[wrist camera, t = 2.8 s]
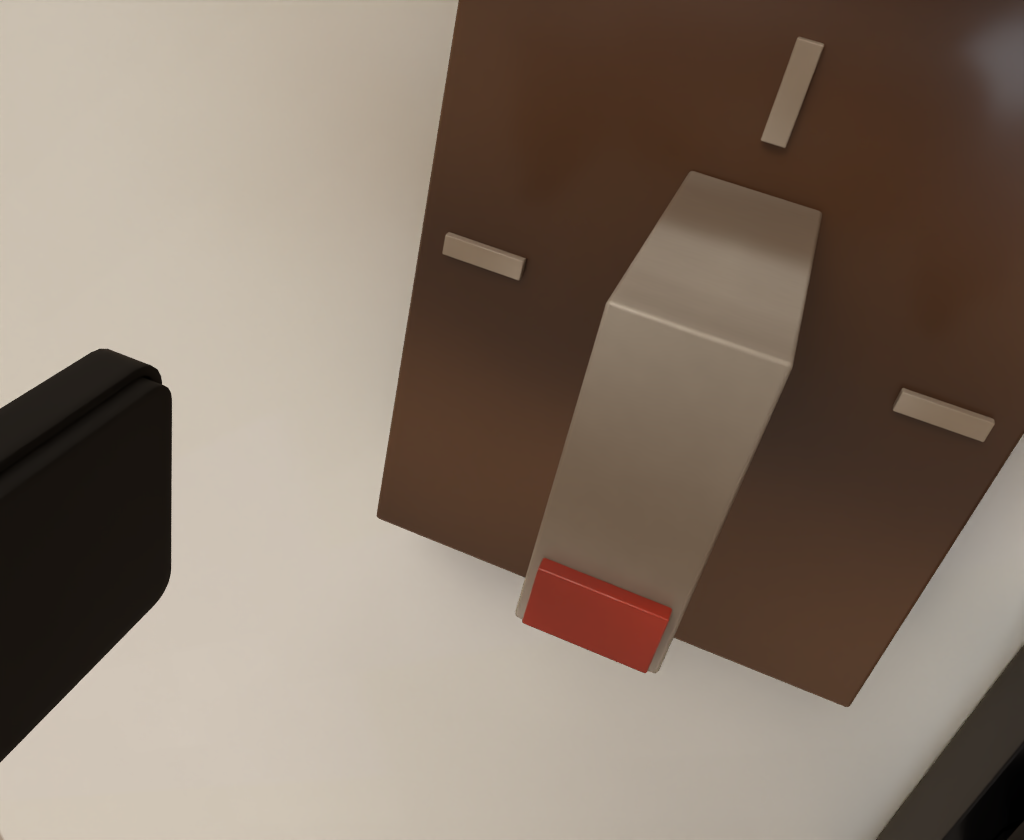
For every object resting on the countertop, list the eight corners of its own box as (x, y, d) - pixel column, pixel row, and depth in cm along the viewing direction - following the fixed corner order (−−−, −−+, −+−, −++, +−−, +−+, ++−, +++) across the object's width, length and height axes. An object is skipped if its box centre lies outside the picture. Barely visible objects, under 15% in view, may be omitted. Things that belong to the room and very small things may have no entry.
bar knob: (690, 168, 14) (600, 309, 10) (824, 210, 13) (792, 376, 9) (606, 429, 17) (507, 628, 12) (715, 470, 16) (652, 689, 12)
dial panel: (549, -217, 14) (488, -229, 12) (1247, -40, 13) (1320, -18, 10) (423, 455, 22) (371, 523, 19) (853, 623, 20) (848, 716, 18)
